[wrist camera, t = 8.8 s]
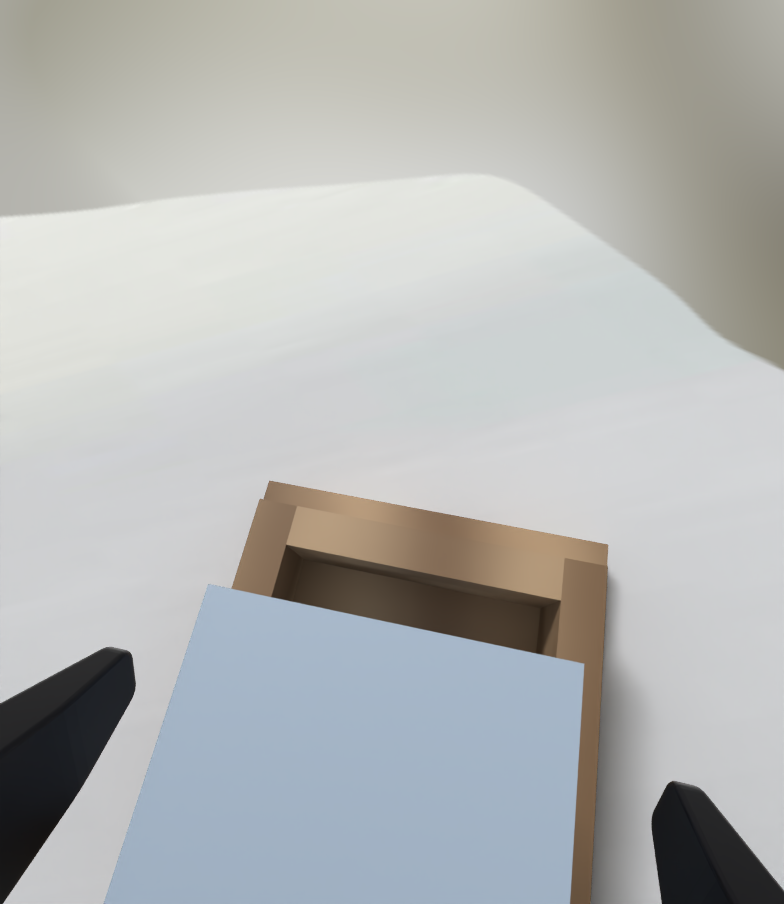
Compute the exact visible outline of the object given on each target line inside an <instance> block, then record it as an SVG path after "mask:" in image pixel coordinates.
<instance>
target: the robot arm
mask: <svg viewBox="0 0 784 904" xmlns="http://www.w3.org/2000/svg"><path fill="white" fill-rule="evenodd" d="M135 687H136V682H135V674H134V666H133V658H132V655H131V653H130V652H129V651H127V650H123V649H118V648H114V647H106V648H103V649H101V650H99V651H97V652H95V653H93V654H92V655H90V656H88V657H86V658H84V659H82V660H80V661H79V662H77V663H75V664H73V665H71V666H69V667H67V668H65V669H64V670H62V671H60V672H58V673H56V674H54V675H52V676H51V677H49V678H47V679H45V680H43V681H41V682H39V683H38V684H36V685H34V686H32V687H30V688H28V689H26V690H24V691H23V692H21V693H19V694H17V695H15V696H13V697H11V698H10V699H8V700H6V701H4V702H2V703H0V904H3V903H4V901H5V900H6V898H7V897H8V895H9V894H10V892H11V891H12V890H13V888H14V887H15V885H16V884H17V882H18V881H19V879H20V878H21V876H22V875H23V873H24V872H25V871H26V869H27V868H28V866H29V865H30V863H31V862H32V860H33V859H34V857H35V856H36V854H37V853H38V852H39V850H40V849H41V847H42V846H43V844H44V843H45V841H46V840H47V838H48V837H49V835H50V834H51V832H52V831H53V830H54V828H55V827H56V825H57V824H58V822H59V821H60V819H61V818H62V816H63V815H64V813H65V812H66V811H67V809H68V808H69V806H70V805H71V803H72V802H73V800H74V799H75V797H76V796H77V794H78V792H79V791H80V789H81V788H82V786H83V784H84V783H85V781H86V779H87V778H88V776H89V774H90V773H91V771H92V769H93V767H94V765H95V764H96V762H97V760H98V758H99V757H100V755H101V753H102V751H103V749H104V748H105V746H106V744H107V742H108V741H109V739H110V737H111V735H112V733H113V732H114V730H115V728H116V726H117V725H118V723H119V721H120V719H121V717H122V716H123V714H124V712H125V710H126V709H127V707H128V705H129V703H130V701H131V699H132V697H133V695H134V692H135ZM652 835H653V842H654V849H655V857H656V864H657V871H658V878H659V886H660V893H661V900H662V904H784V890H783V889H782V888H781V886H780V885H779V884H778V883H777V881H776V880H775V879H774V878H773V876H772V875H771V874H770V873H769V872H768V870H767V869H766V868H765V867H764V865H763V864H762V863H761V862H760V860H759V859H758V858H757V857H756V855H755V854H754V853H753V852H752V850H751V849H750V848H749V847H748V845H747V844H746V843H745V842H744V841H743V839H742V838H741V837H740V836H739V834H738V833H737V832H736V831H735V829H734V828H733V827H732V826H731V824H730V823H729V822H728V821H727V819H726V818H725V817H724V816H723V814H722V813H721V812H720V811H719V810H718V808H717V807H716V806H715V805H714V803H713V802H712V801H711V800H710V798H709V797H708V796H707V795H706V794H705V792H704V791H702V790H701V789H700V788H698V787H696V786H694V785H689V784H685V783H681V782H677V781H672V782H670V783H668V785H667V786H666V788H665V790H664V792H663V794H662V796H661V798H660V800H659V802H658V804H657V806H656V808H655V809H654V812H653V815H652Z"/></svg>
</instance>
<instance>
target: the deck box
mask: <svg viewBox="0 0 784 904" xmlns="http://www.w3.org/2000/svg"><path fill="white" fill-rule="evenodd" d="M583 678H584V664H583V663H578V662H573V661H569V660H564V659H559V658H555V657H550V656H545V655H541V654H536V653H531V652H526V651H522V650H517V649H512V648H508V647H503V646H498V645H493V644H489V643H484V642H479V641H475V640H470V639H465V638H461V637H456V636H451V635H446V634H442V633H437V632H432V631H428V630H423V629H418V628H413V627H409V626H404V625H399V624H395V623H390V622H385V621H381V620H376V619H371V618H366V617H362V616H357V615H352V614H348V613H343V612H338V611H333V610H329V609H324V608H319V607H315V606H310V605H305V604H301V603H296V602H291V601H286V600H282V599H277V598H272V597H268V596H263V595H258V594H253V593H249V592H244V591H239V590H235V589H230V588H225V587H221V586H216V585H211V584H208V587H207V590H206V593H205V596H204V599H203V602H202V605H201V608H200V611H199V614H198V617H197V620H196V623H195V626H194V629H193V632H192V635H191V638H190V641H189V645H188V648H187V651H186V654H185V657H184V660H183V663H182V666H181V669H180V672H179V675H178V678H177V681H176V684H175V687H174V690H173V693H172V696H171V699H170V703H169V706H168V709H167V712H166V715H165V718H164V721H163V724H162V727H161V730H160V733H159V736H158V739H157V742H156V745H155V748H154V751H153V754H152V757H151V761H150V764H149V767H148V770H147V773H146V776H145V779H144V782H143V785H142V788H141V791H140V794H139V797H138V800H137V803H136V806H135V809H134V812H133V815H132V819H131V822H130V825H129V828H128V831H127V834H126V837H125V840H124V843H123V846H122V849H121V852H120V855H119V858H118V861H117V864H116V867H115V870H114V873H113V877H112V880H111V883H110V886H109V889H108V892H107V895H106V898H105V901H104V904H570V895H571V879H572V862H573V845H574V828H575V812H576V795H577V778H578V761H579V745H580V728H581V711H582V695H583Z"/></svg>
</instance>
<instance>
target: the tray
mask: <svg viewBox="0 0 784 904" xmlns="http://www.w3.org/2000/svg"><path fill="white" fill-rule="evenodd" d="M607 556H608V545H607V544H602V543H597V542H591V541H586V540H581V539H576V538H570V537H565V536H560V535H554V534H549V533H544V532H538V531H533V530H528V529H523V528H517V527H512V526H507V525H501V524H496V523H491V522H485V521H480V520H475V519H470V518H464V517H459V516H454V515H448V514H443V513H438V512H432V511H427V510H422V509H417V508H411V507H406V506H401V505H395V504H390V503H385V502H379V501H374V500H369V499H364V498H358V497H353V496H348V495H342V494H337V493H332V492H326V491H321V490H316V489H311V488H305V487H300V486H295V485H289V484H284V483H279V482H273V481H269V483H268V487H267V490H266V493H265V496H264V500H263V499H260V500H259V503H258V506H257V509H256V512H255V516H254V519H253V522H252V525H251V528H250V531H249V535H248V538H247V541H246V544H245V547H244V551H243V554H242V557H241V560H240V563H239V566H238V570H237V573H236V576H235V579H234V582H233V586H232V589H235V590H239V591H244V592H249V593H253V594H258V595H263V596H268V597H272V598H277V599H282V600H286V601H291V602H296V603H301V604H305V605H310V606H315V607H319V608H324V609H329V610H333V611H338V612H343V613H348V614H352V615H357V616H362V617H366V618H371V619H376V620H381V621H385V622H390V623H395V624H399V625H404V626H409V627H413V628H418V629H423V630H428V631H432V632H437V633H442V634H446V635H451V636H456V637H461V638H465V639H470V640H475V641H479V642H484V643H489V644H493V645H498V646H503V647H508V648H512V649H517V650H522V651H526V652H531V653H536V654H541V655H545V656H550V657H555V658H559V659H564V660H569V661H573V662H578V663H583V664H584V678H583V695H582V711H581V728H580V745H579V761H578V778H577V795H576V812H575V828H574V845H573V862H572V879H571V895H570V904H590V900H591V881H592V861H593V842H594V823H595V803H596V784H597V765H598V745H599V726H600V706H601V687H602V668H603V648H604V629H605V610H606V590H607V571H608V566H607Z"/></svg>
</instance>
